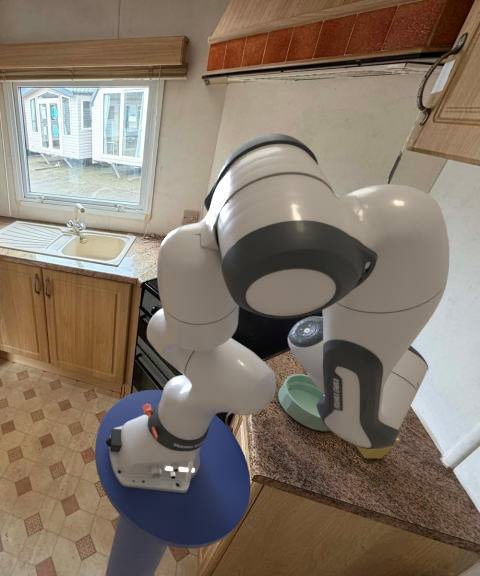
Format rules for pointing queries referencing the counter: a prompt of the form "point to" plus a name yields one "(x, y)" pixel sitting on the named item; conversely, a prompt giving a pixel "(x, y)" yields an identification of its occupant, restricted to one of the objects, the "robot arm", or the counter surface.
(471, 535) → the counter surface
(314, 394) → the bowl
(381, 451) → the butter
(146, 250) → the counter surface
